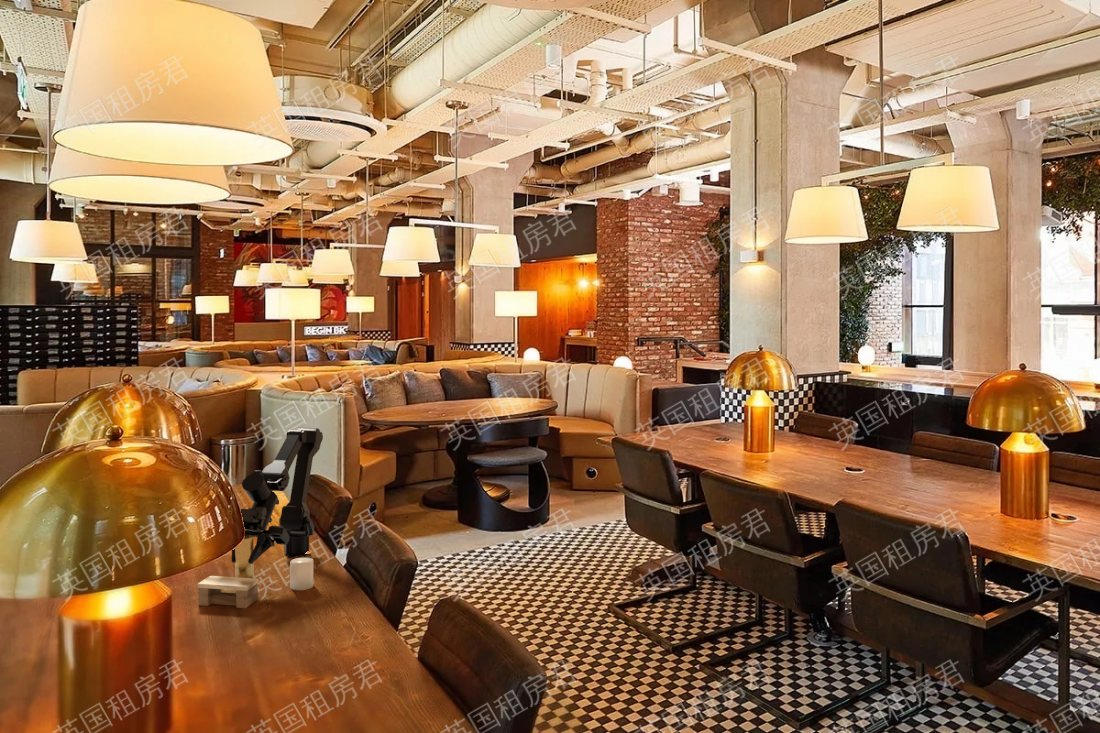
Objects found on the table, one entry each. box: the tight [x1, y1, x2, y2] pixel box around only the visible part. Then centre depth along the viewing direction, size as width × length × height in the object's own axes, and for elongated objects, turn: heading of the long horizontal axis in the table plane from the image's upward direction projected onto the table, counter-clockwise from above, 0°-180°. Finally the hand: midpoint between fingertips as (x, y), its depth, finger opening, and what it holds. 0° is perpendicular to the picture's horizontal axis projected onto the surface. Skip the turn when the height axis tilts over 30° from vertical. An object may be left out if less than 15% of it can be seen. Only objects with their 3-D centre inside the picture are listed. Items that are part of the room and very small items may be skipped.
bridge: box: [197, 575, 260, 609], centre depth 191 cm, size 6×13×6 cm, turn 84°
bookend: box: [220, 535, 255, 595], centre depth 196 cm, size 12×6×13 cm, turn 174°
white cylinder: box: [289, 557, 314, 591], centre depth 204 cm, size 6×6×7 cm
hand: (241, 562), depth 198 cm, fingers closed on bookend, 4 cm apart
